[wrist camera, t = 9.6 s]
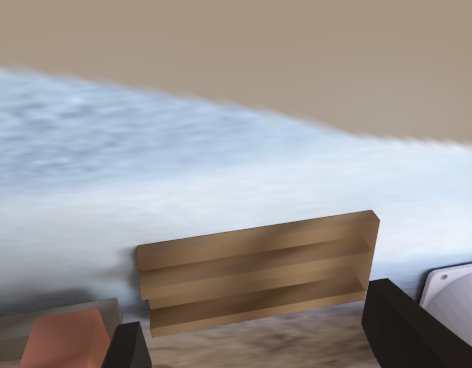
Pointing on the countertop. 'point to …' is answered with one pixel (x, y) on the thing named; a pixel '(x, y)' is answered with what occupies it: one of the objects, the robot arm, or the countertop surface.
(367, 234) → the track board
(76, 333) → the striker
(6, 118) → the countertop surface
